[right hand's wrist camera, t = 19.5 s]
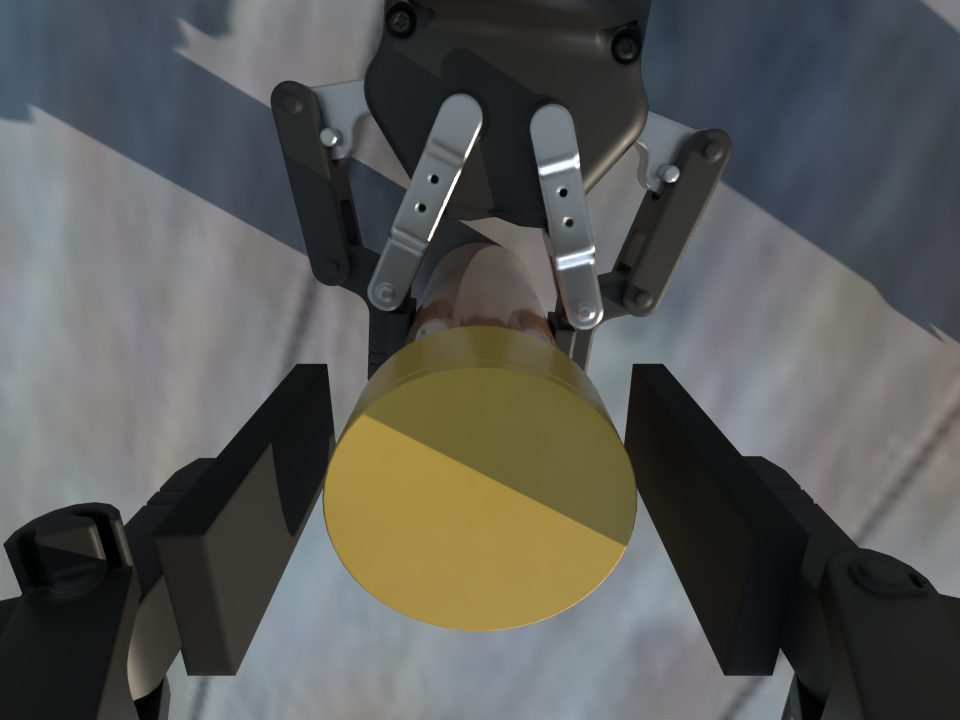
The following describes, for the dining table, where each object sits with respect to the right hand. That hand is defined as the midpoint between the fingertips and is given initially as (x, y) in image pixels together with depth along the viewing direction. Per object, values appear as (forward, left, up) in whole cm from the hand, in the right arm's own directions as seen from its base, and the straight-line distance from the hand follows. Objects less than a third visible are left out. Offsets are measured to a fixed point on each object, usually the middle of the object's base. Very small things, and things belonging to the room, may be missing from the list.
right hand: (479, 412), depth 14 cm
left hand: (0, -3, -6) cm, 6 cm away
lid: (0, 0, +4) cm, 4 cm away
